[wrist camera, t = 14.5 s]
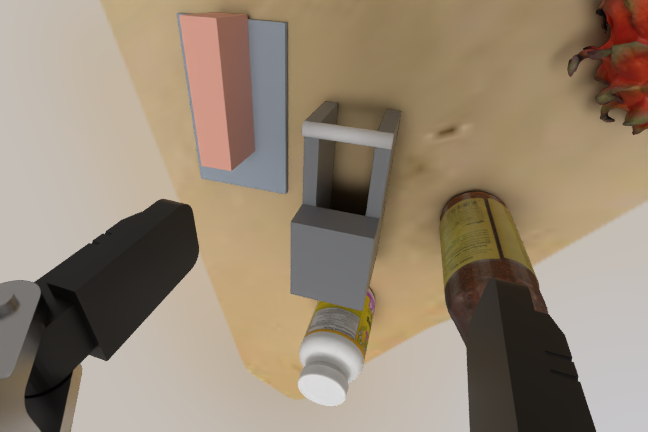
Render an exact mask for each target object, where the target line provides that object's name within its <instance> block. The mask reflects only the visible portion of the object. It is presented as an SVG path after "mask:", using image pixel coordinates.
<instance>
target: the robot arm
mask: <svg viewBox="0 0 648 432" xmlns="http://www.w3.org/2000/svg"><path fill="white" fill-rule="evenodd" d="M198 254H199V245H198V239H197V233H196V227H195V221H194V216H193V211H192V208H191V207H190V206H189V205H187V204H183V203H179V202H175V201H171V200H166V199H161V200H158V201H157V202H155V203H154V204H153V205H151V206H150V207H149V208H147V209H146V210H144V211H143V212H140V213H137V214H135V215H133V216H130V217H128V218H125V219H123V220H121V221H120V222H118V223H117V224H115V225H114V226H113V227H111V228H110V229H108V230H107V231H106V233H105V234H101V235H100V236H99V237H97V238H96V239H94V240H93V242H92V244H90V243H89V244H87V245H86V246H85V247H83V248H82V249H80V250H79V251H78V252H76V253H75V254H73V255H72V256H71V257H69V258H68V259H66V260H65V261H64V262H62V263H61V264H59V265H58V266H56V267H55V268H54V269H52V270H51V271H50V272H48V273H47V274H45V275H44V276H43V277H41V278H40V279H38V280H37V281H35V282H34V283H33V282H30V281H24V280H16V281H9V282H4V283H1V284H0V432H71V427H72V423H73V417H74V412H75V407H76V402H77V396H78V391H79V386H80V381H81V376H82V366H81V364H80V363H81V362H82V361H83V360H84V359H85V358H86V357H87V356H88V355H91V356H94V357H97V358H100V359H102V360H105V361H108V360H109V359H110V358H111V356H112V355H113V354H114V353H115V352H116V351H117V350H118V349H119V348H120V347H121V346H122V344H123V343H124V342H125V341H126V340H127V339H128V338H129V337H130V336H131V334H133V332H134V331H135V330H136V329H137V328H138V327H139V326H140V325H141V324H142V322H143V321H144V320H145V319H146V318H147V317H148V316H149V315H150V314H151V313H152V311H154V309H155V308H156V307H157V306H158V305H159V304H160V303H161V302H162V301H163V299H165V297H166V296H167V295H168V294H169V293H170V292H171V291H172V290H173V289H174V287H175V286H176V285H177V284H178V283H179V282H180V281H181V280H182V279H183V278H184V277H185V275H186V274H187V273H188V272H189V271H190V270H191V269H192V268H193V266H194V264H195V263H196V261H197V258H198ZM466 348H467V372H468V393H469V395H468V396H469V418H470V432H596V430H595V426H594V423H593V420H592V417H591V414H590V411H589V408H588V405H587V402H586V399H585V396H584V393H583V390H582V386H581V383H580V382H578V374H577V371H576V368H575V365H574V362H572V356H571V352H570V350H569V346H568V343H567V341H566V337H565V335H564V334H563V332H562V331H561V330H560V328H558V326H557V324H556V323H555V322H554V320H553V319H552V318H551V317H550V315H549V314H546V313H542V312H538V311H535V309H534V305H533V302H532V298H531V294H530V290H529V288H528V287H527V286H526V285H522V284H518V283H514V282H509V281H505V280H501V279H497V278H491V279H490V280H489V281H488V283H487V285H486V287H485V289H484V292H483V294H482V296H481V298H480V301H479V303H478V305H477V307H476V309H475V312H474V314H473V316H472V318H471V321H470V324H469V328H468V333H467V342H466Z"/></svg>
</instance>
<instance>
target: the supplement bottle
mask: <svg viewBox="0 0 648 432" xmlns="http://www.w3.org/2000/svg"><path fill="white" fill-rule="evenodd" d="M374 309H375V298H374V295H373V293H372V292H371V290H370V289H369V288H368V293H367V295H366V299H365V304H364V308H363V311H360V310H356V309H351V308H347V307H343V306H339V305H335V304H331V303H327V302H323V301H319V300H318V303H317V305H316V308H315V311H314V313H313V316H312V318H311V321H310V324H309V326H308V329H307V331H306V334H305V336H304V339H303V341H302V344H301V346H300V351H299V355H300V360H301V363H302V365H303V367H304V368H303V369H302V371H301V374H300V377H299V380H298V387H299V390H300V391H301V393H302V394H303V395H304V396H305V397H306V398H308V399H309V400H311V401H313V402H315V403H318V404H321V405H326V406H336V405H339V404H341V403H343V402H344V400H345V398H346V394H347V390H348V383H349V382H351V381H353V380H354V379H356V378H357V377H358V376H359V374H360V373H361V371H362V368H363V364H364V359H365V354H366V349H367V344H368V339H369V334H370V329H371V324H372V319H373V314H374Z"/></svg>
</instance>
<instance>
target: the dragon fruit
mask: <svg viewBox="0 0 648 432" xmlns="http://www.w3.org/2000/svg"><path fill="white" fill-rule="evenodd" d="M596 14H598V15H600V16H602V24H601V25H602V28H603V29H604V30H605V33H606V32H607V25H606V24H608V25H610V28H611V36H610V39H609V41H608V42H607V43H605V44H604V45H602V46H601V47H600V48H598V47H595V46H588V47H585V48H584V49H583V51H581V52H580V53H579V54H578V55H577V54H576V55H575V56H573V58H572V59H570V60H569V63H568V68H567V69H568V74H569V76H570V77H571V76H572V75H573V73H574V72H575V71H576V69H577V67H578V65H579V63H580V62H581V61H582V60H583V59H585V58H588V57H589V58H591V59H601V60H602V61H603V63H602V64H601V65H600V67H599V68H598V70H597V72H596V75H595V77H594V79H596V80H597V81H601V82H602V83H603V84H605V85H608V86H609V87H607V88H605V89H604V90H602V91H601V92H600V93H599V95H598V96H597V97H596V101H597V103H598V104H600V105H603V106H602V108H601V116H600V119H602V120H603V121H605V122H614V121H615V120H614V119H612V118H611V117H609V116H608V112H609V110H611V109H615V108H620V109H623V110H626V111H628V113H627V115H626V117H625V122H624V123H623V125H625V126H632V128H633V132H632V133H633V135H635V134H638V133H640V132H642V131H643V130H645V129H647V128H648V0H603V1H602V3H601V4H600V6H599V7H598V9H597V10H596Z"/></svg>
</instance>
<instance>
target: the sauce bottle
mask: <svg viewBox="0 0 648 432" xmlns="http://www.w3.org/2000/svg"><path fill="white" fill-rule="evenodd" d="M440 242H441V253H442V267H443V279H444V291H445V300H446V305H447V309H448V312H449V314H450V316H451V318H452V320H453V321H454V323H455V325H456V327H457V329H458V331H459V333H460V335H461V337H462V339H463V341H464V343H465V345H466V342H467V333H468V328H469V324H470V321H471V318H472V316H473V314H474V312H475V309H476V307H477V305H478V303H479V301H480V298H481V296H482V294H483V292H484V289H485V287H486V285H487V283H488V281H489V280H490V279H491V278H497V279H501V280H505V281H509V282H514V283H518V284H522V285H526V286H527V287H528V288H529V290H530V294H531V298H532V302H533V305H534V309H535V311H538V312H542V313H546V314H548V311H547V307H546V304H545V301H544V299H543V297H542V295H541V293H540V290H539V283H538V280H537V278H536V275H535V273H534V270H533V268H532V265H531V263H530V260H529V258H528V255H527V252H526V250H525V247H524V245H523V242H522V240H521V238H520V235H519V233H518V230H517V228H516V225H515V223H514V221H513V218H512V216H511V214H510V212H509V211H508V209H507V208H506V206H505V204H504V203H503V202H502V201H500V200H499V199H498V198H497V197H494V196H492V195H490V194H486V193H484V192H479V191H478V192H476V191H474V192H468V193H465V194H462V195H459V196H457V197H455V198H453V199H452V200H451V201H450V202H449V203H448V204H447V205H446V207H445V208H444V209H443V212H442V214H441V217H440Z"/></svg>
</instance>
